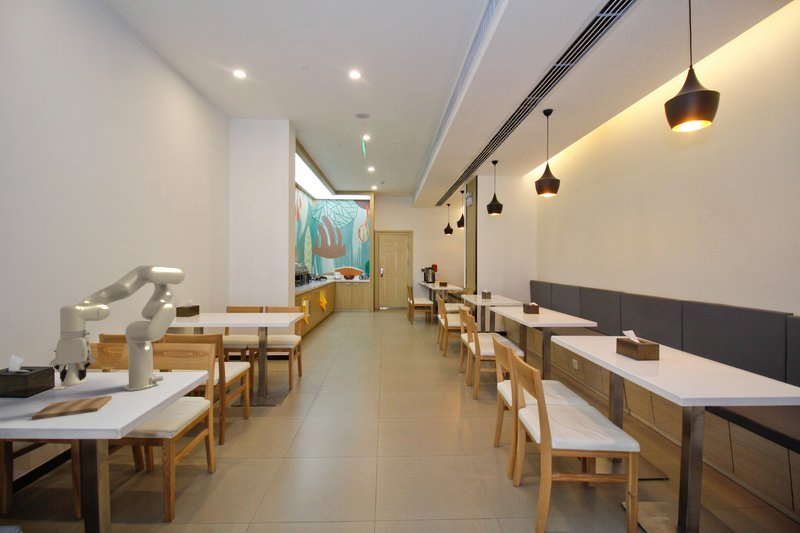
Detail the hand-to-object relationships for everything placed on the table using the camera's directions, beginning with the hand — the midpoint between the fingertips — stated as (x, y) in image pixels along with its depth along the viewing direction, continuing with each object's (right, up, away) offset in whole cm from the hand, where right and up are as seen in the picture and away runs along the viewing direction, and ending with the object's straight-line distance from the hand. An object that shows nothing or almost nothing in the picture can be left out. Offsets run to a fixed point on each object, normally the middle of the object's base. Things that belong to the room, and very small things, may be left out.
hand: (73, 379), depth 142 cm
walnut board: (0, -12, 0) cm, 12 cm away
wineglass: (-31, -13, +27) cm, 43 cm away
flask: (0, -2, 0) cm, 2 cm away
